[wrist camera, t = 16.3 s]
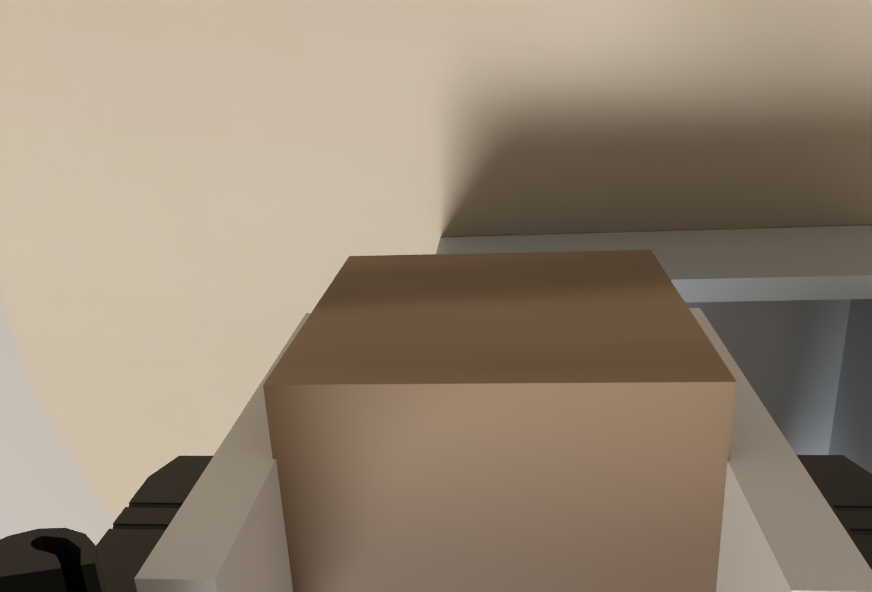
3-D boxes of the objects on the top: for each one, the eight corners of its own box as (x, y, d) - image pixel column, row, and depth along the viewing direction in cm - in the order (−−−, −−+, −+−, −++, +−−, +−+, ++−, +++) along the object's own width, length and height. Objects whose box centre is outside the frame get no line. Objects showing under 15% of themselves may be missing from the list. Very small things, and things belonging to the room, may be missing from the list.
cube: (349, 256, 13) (263, 384, 8) (650, 249, 13) (736, 382, 8) (371, 508, 15) (308, 735, 10) (639, 511, 14) (704, 748, 10)
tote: (440, 237, 31) (428, 285, 26) (876, 225, 30) (955, 273, 24) (466, 714, 40) (460, 821, 35) (800, 724, 39) (847, 837, 33)
